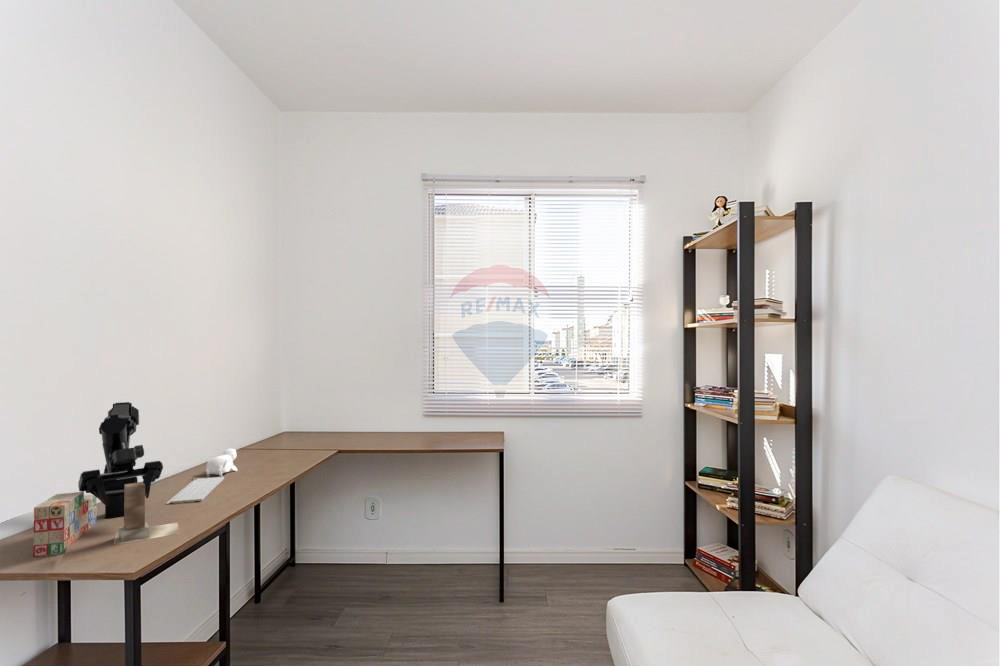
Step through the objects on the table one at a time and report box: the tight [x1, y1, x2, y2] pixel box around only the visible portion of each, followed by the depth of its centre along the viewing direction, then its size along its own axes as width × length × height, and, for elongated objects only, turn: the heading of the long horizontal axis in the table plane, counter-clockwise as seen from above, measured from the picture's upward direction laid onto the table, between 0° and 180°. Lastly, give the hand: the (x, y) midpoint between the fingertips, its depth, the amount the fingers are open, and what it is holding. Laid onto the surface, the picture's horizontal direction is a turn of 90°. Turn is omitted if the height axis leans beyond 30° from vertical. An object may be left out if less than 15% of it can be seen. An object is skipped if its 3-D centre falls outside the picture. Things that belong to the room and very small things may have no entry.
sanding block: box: [118, 481, 151, 542], centre depth 140 cm, size 6×5×14 cm
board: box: [113, 521, 180, 546], centre depth 143 cm, size 14×11×1 cm
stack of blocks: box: [32, 491, 98, 558], centre depth 141 cm, size 21×6×12 cm, turn 19°
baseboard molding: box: [165, 473, 225, 505], centre depth 189 cm, size 31×3×12 cm
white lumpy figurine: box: [205, 448, 238, 477], centre depth 217 cm, size 9×8×15 cm
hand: (127, 501), depth 145 cm, fingers open, 9 cm apart
